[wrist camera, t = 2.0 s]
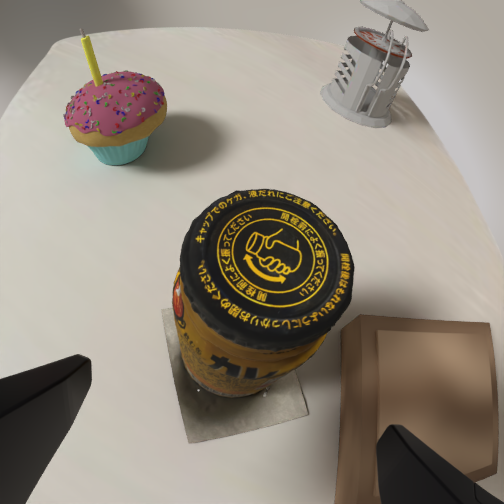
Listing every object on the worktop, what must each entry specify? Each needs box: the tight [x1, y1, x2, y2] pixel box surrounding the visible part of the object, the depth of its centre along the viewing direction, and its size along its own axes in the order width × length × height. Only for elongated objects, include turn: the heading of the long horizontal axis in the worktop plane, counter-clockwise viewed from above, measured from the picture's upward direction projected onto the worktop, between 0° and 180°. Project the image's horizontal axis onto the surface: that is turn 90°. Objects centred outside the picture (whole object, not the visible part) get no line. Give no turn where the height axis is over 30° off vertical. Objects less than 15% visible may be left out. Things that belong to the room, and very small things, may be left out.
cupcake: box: [63, 29, 167, 165], centre depth 21 cm, size 9×8×12 cm
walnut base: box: [335, 314, 498, 504], centre depth 17 cm, size 12×12×3 cm
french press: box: [320, 0, 429, 128], centre depth 25 cm, size 10×12×25 cm
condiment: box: [162, 189, 354, 443], centre depth 14 cm, size 7×8×12 cm
